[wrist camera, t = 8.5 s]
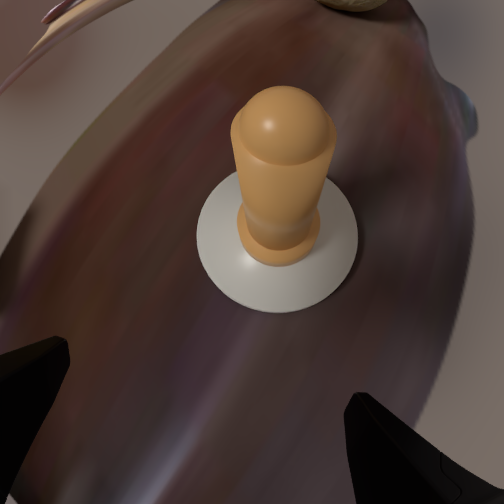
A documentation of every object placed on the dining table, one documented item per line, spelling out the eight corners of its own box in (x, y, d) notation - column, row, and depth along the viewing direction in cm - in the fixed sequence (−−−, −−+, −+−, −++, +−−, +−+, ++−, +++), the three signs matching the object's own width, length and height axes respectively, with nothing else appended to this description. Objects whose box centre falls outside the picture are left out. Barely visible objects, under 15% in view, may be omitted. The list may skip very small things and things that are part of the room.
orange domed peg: (331, 242, 20) (392, 123, 9) (264, 281, 19) (256, 187, 8) (290, 182, 21) (302, 44, 10) (225, 216, 21) (184, 86, 10)
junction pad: (382, 224, 21) (386, 219, 20) (289, 347, 19) (290, 347, 18) (266, 144, 24) (266, 137, 23) (168, 244, 21) (164, 239, 20)
